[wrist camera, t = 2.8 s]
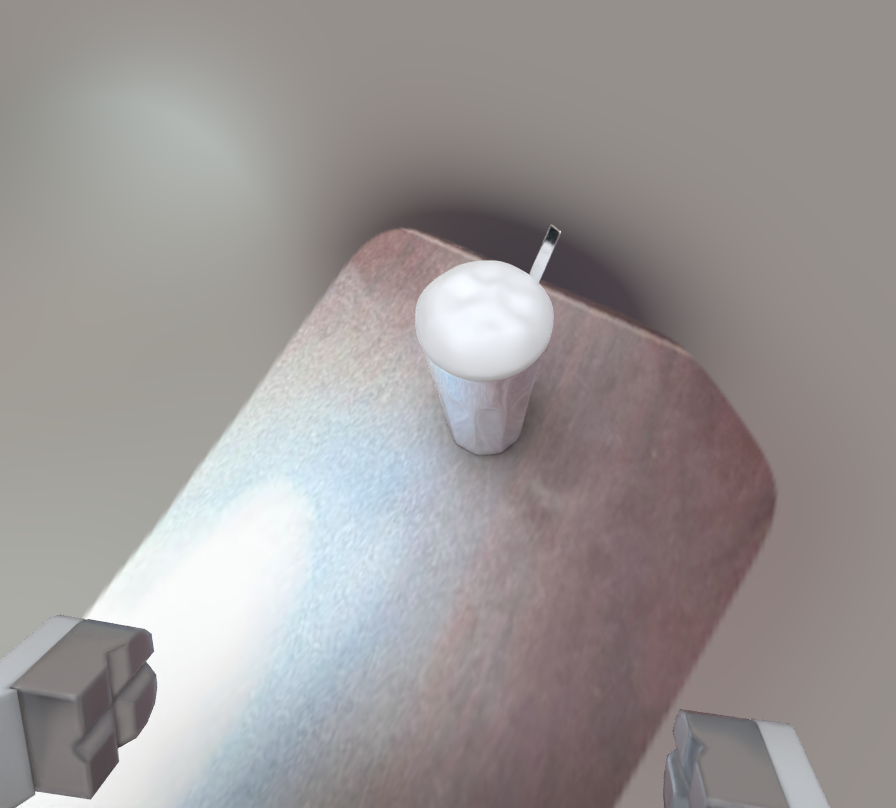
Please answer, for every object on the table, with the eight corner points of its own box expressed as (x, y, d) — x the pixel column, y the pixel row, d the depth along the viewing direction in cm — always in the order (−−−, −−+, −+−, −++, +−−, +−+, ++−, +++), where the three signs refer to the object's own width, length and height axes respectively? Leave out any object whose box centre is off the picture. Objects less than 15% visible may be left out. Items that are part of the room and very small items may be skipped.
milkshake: (573, 414, 29) (609, 270, 20) (480, 492, 28) (476, 374, 19) (503, 348, 31) (508, 188, 22) (412, 417, 30) (379, 278, 21)
